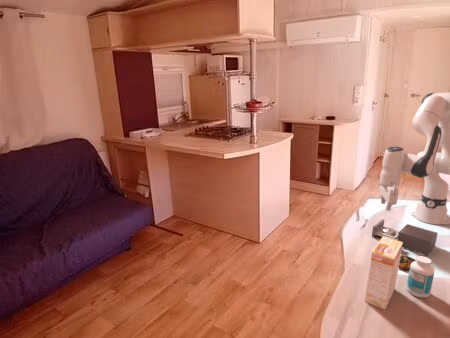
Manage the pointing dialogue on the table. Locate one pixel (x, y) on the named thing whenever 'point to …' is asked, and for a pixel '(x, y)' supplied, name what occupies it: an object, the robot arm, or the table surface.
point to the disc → (388, 231)
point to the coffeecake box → (383, 272)
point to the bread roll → (405, 263)
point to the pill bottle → (420, 277)
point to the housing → (417, 239)
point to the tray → (378, 231)
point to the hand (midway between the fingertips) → (385, 206)
